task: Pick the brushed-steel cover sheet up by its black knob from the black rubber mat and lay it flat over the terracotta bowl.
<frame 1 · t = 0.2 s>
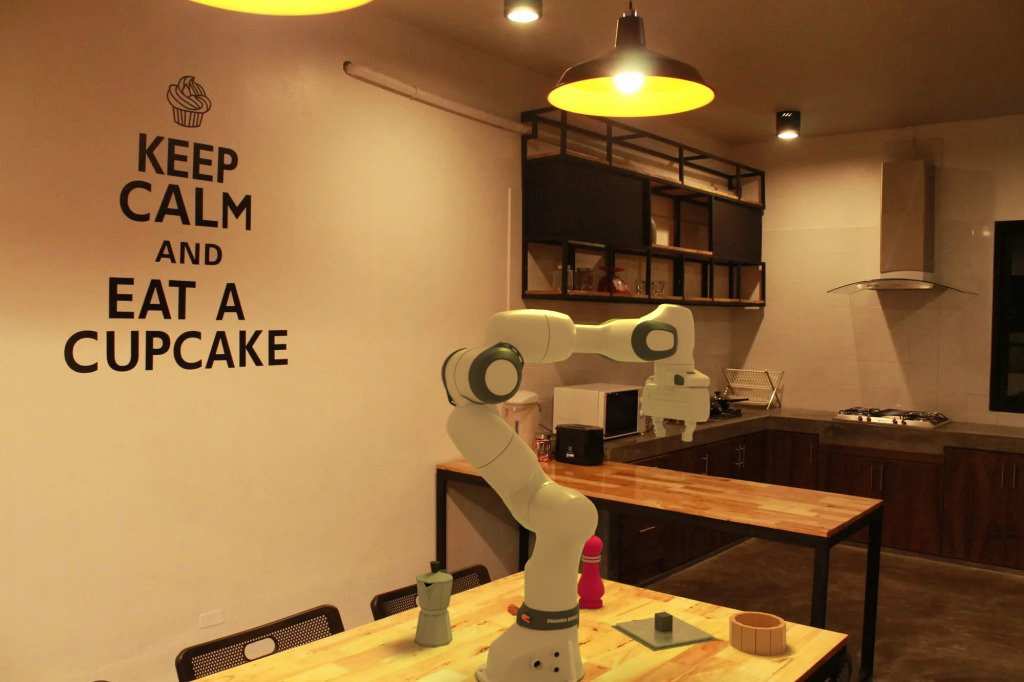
hand: (673, 438, 187), 47 cm above the table, fingers open, 8 cm apart
coffee maker: (435, 639, 193), on the table
bowl: (757, 646, 190), on the table
pepper mill: (590, 607, 217), on the table
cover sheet: (663, 632, 197), resting on rubber mat
rubber mat: (663, 634, 197), on the table
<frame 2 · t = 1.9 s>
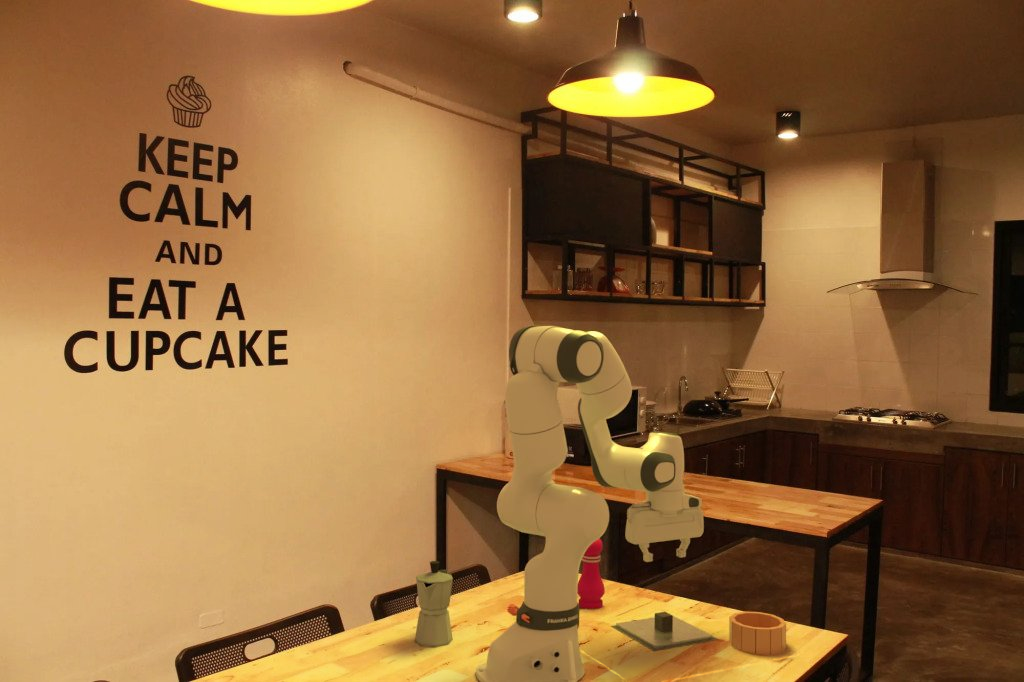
hand: (664, 558, 197), 18 cm above the table, fingers open, 8 cm apart
nothing on the table moved.
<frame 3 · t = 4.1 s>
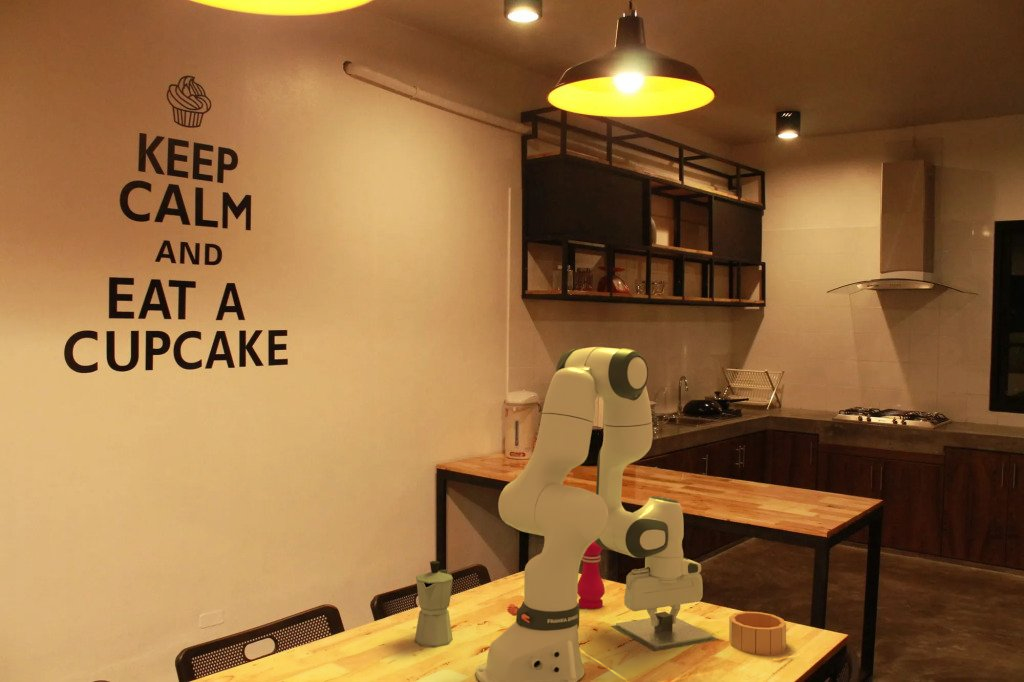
hand: (663, 624, 197), 2 cm above the table, fingers closed on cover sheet, 3 cm apart
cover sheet: (663, 632, 197), resting on rubber mat, touching gripper
everything else where it was.
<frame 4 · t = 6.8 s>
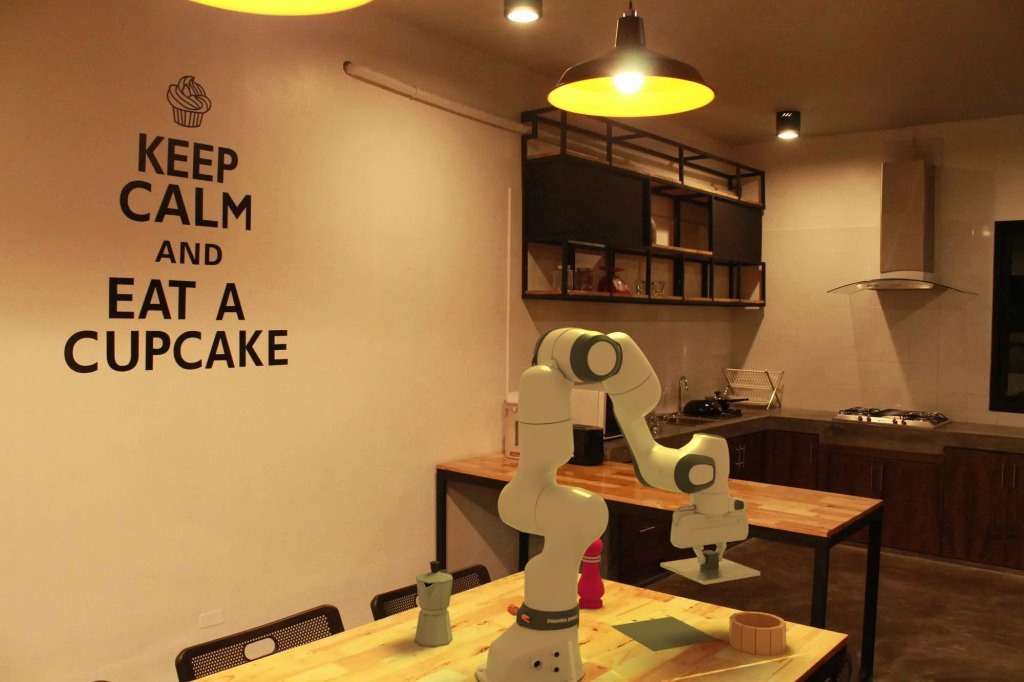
hand: (709, 562, 194), 18 cm above the table, fingers closed on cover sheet, 3 cm apart
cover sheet: (709, 570, 194), point 16 cm above the table, touching gripper
everything else where it was.
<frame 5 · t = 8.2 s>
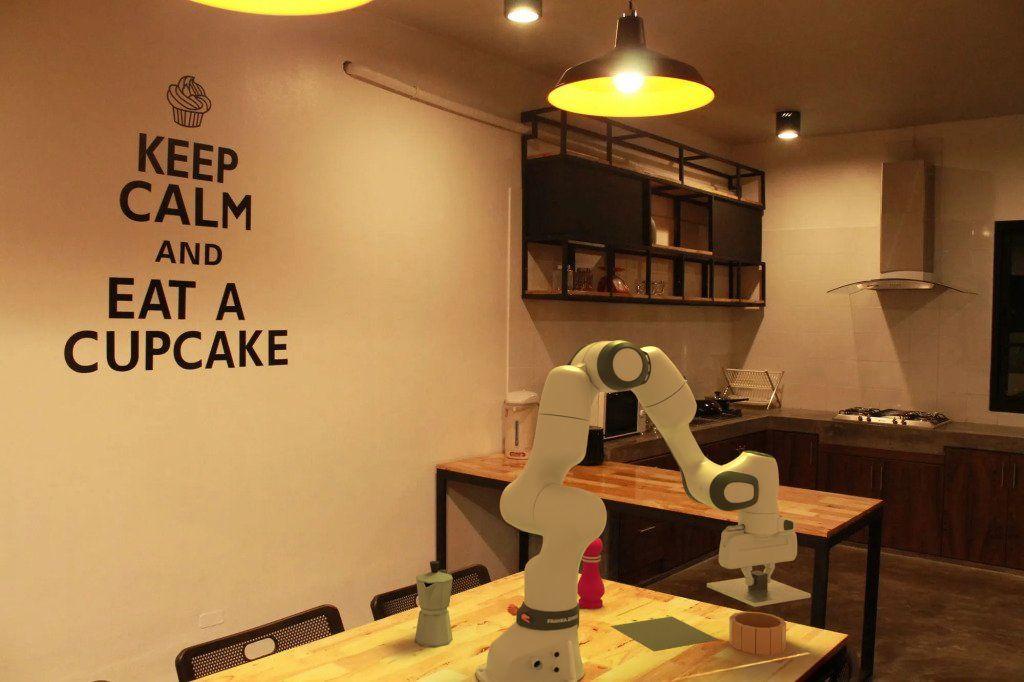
hand: (757, 583, 190), 14 cm above the table, fingers closed on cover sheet, 3 cm apart
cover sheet: (757, 591, 190), point 12 cm above the table, touching gripper
everything else where it was.
when the fingers open (9 cm above the table, at t = 9.6 s): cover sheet drops 1 cm, resting on bowl.
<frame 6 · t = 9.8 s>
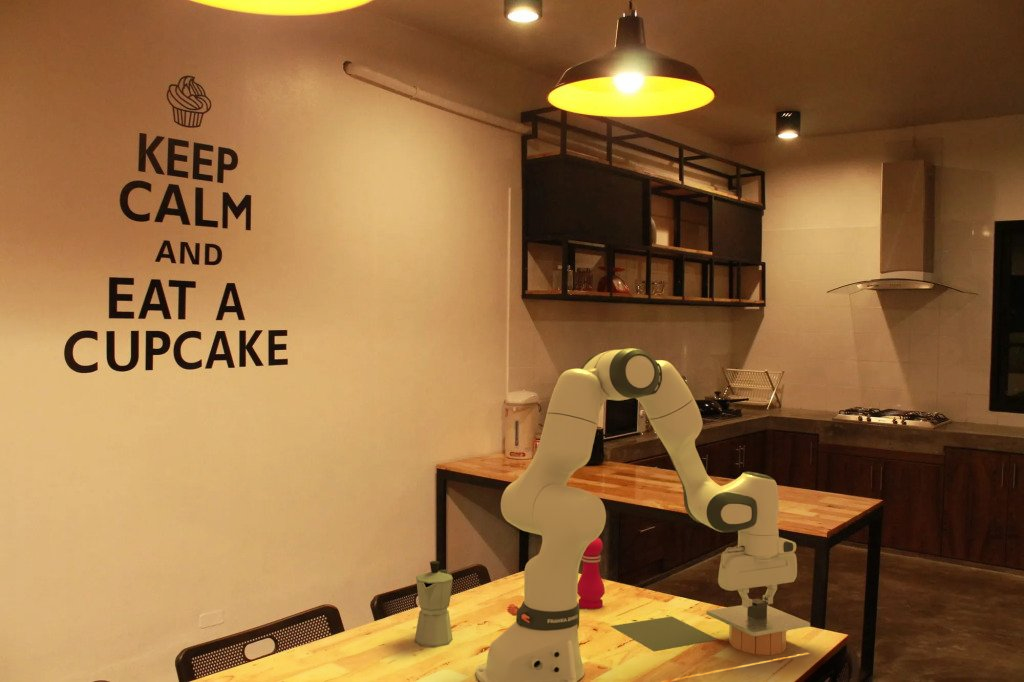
hand: (757, 605, 190), 9 cm above the table, fingers open, 5 cm apart
bowl: (757, 646, 190), on the table, touching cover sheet
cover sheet: (757, 620, 190), point 6 cm above the table, touching bowl
everything else where it was.
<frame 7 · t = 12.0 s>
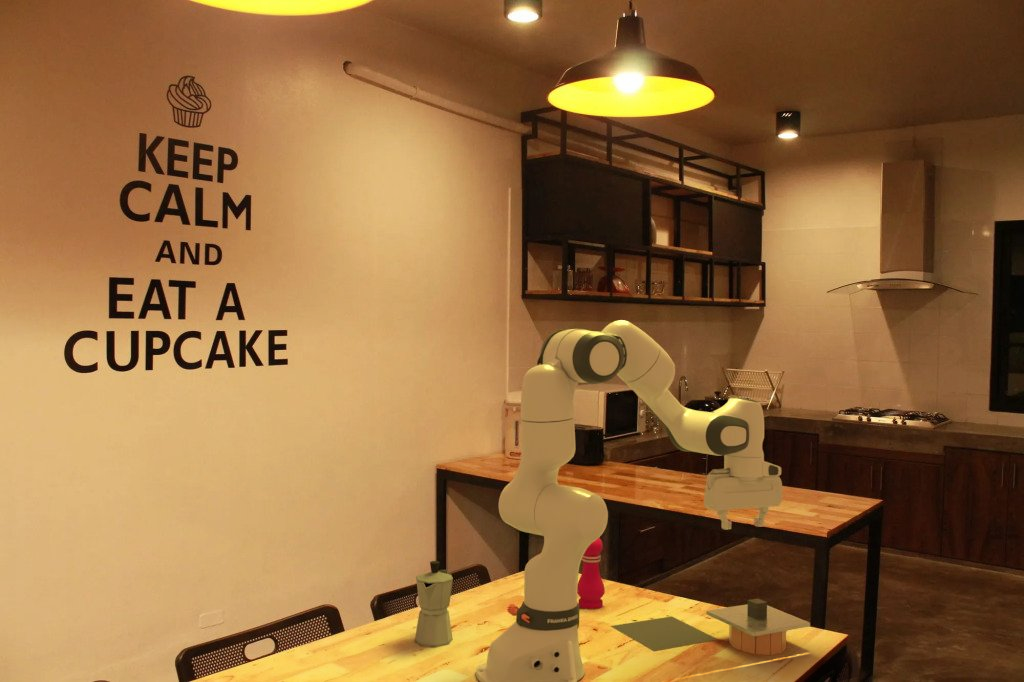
hand: (742, 527, 194), 26 cm above the table, fingers open, 8 cm apart
nothing on the table moved.
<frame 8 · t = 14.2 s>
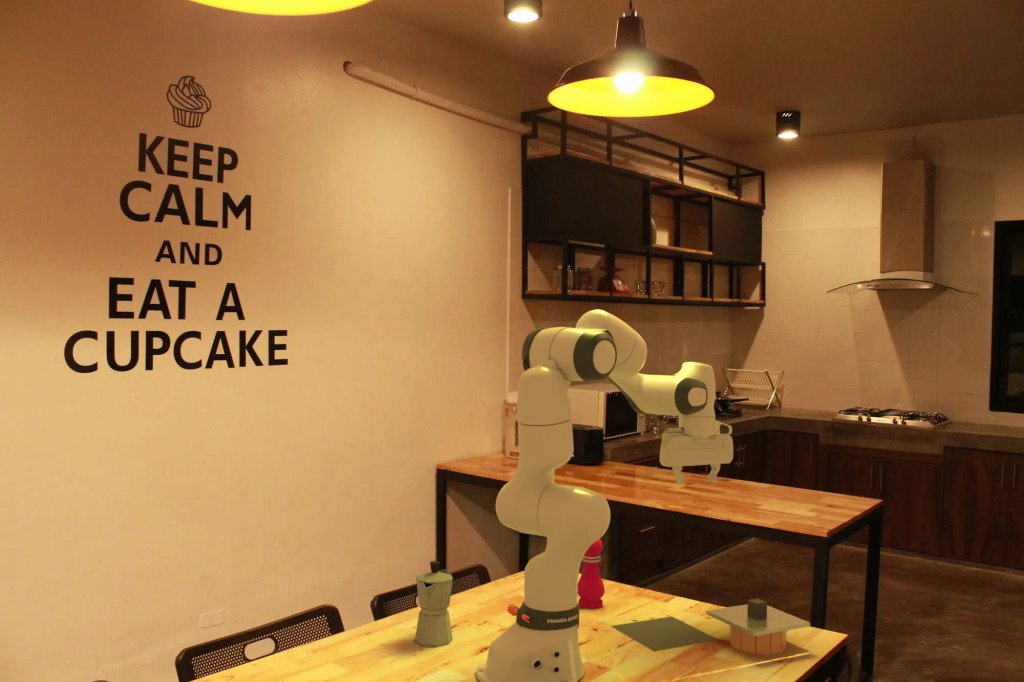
hand: (696, 483, 207), 34 cm above the table, fingers open, 8 cm apart
nothing on the table moved.
at the end: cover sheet 0.1 cm off-centre on the bowl, point 6.0 cm above the bowl's base; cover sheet tilted 0°; the gripper is holding nothing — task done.
